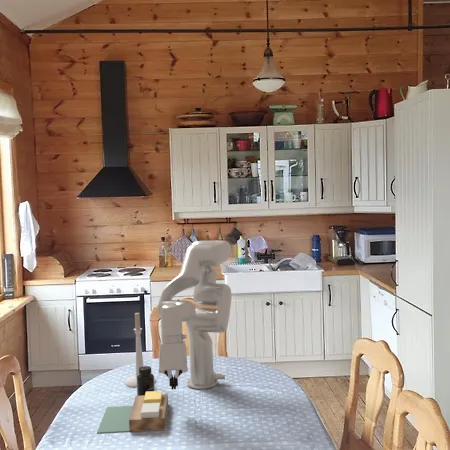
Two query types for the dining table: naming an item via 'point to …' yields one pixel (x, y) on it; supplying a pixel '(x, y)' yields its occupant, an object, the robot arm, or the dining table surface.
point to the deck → (148, 423)
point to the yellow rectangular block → (153, 397)
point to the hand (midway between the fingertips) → (173, 388)
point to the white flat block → (150, 410)
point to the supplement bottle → (145, 381)
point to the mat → (115, 419)
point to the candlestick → (137, 353)
